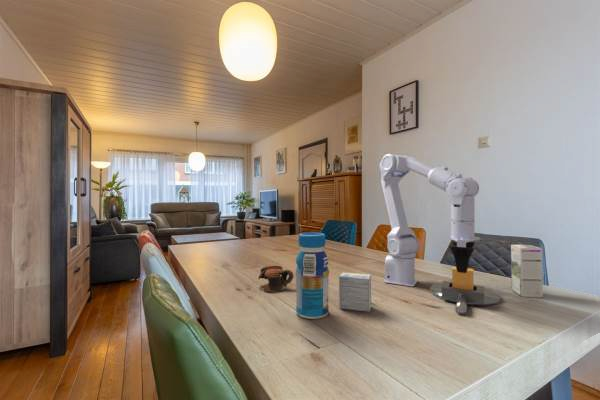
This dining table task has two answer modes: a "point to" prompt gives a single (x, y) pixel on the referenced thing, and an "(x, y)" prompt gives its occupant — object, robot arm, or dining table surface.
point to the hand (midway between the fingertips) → (462, 269)
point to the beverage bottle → (312, 277)
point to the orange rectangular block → (462, 279)
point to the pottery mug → (275, 278)
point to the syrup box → (527, 270)
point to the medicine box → (355, 291)
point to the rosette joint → (465, 296)
